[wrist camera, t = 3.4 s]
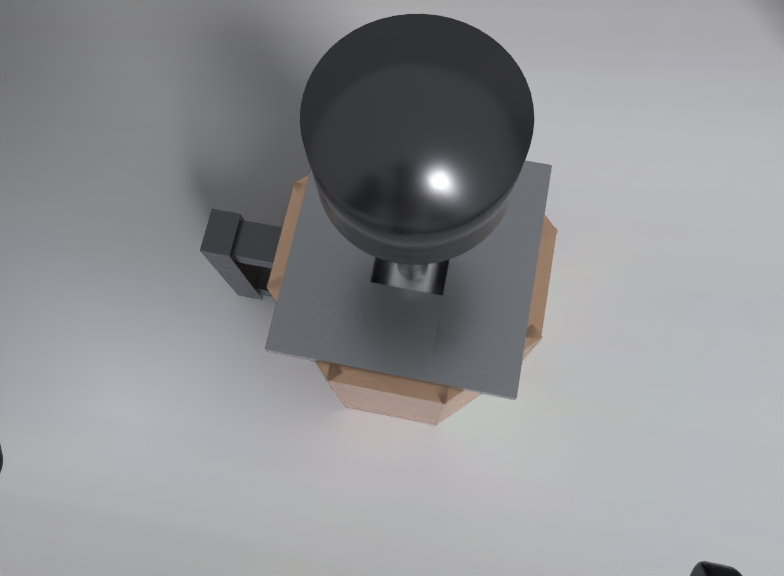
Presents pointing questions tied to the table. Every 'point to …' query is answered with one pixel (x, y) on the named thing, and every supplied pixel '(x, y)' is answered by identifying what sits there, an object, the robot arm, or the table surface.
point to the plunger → (416, 142)
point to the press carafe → (396, 304)
